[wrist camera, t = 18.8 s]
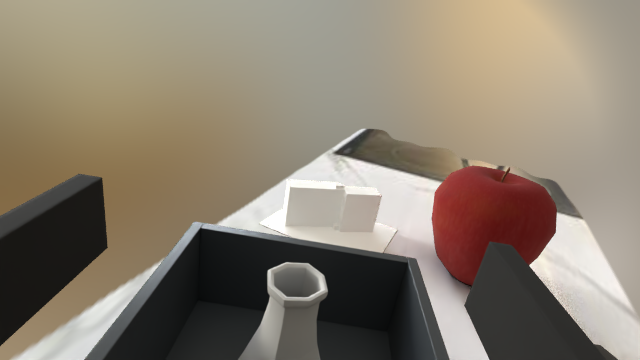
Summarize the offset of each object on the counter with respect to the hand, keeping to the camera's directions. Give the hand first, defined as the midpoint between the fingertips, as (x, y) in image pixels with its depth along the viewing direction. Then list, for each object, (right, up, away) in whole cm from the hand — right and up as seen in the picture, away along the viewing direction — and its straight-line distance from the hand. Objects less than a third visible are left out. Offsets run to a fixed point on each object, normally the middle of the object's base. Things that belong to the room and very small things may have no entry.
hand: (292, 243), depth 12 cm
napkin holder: (+2, -4, +34) cm, 35 cm away
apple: (+18, -9, +29) cm, 35 cm away
